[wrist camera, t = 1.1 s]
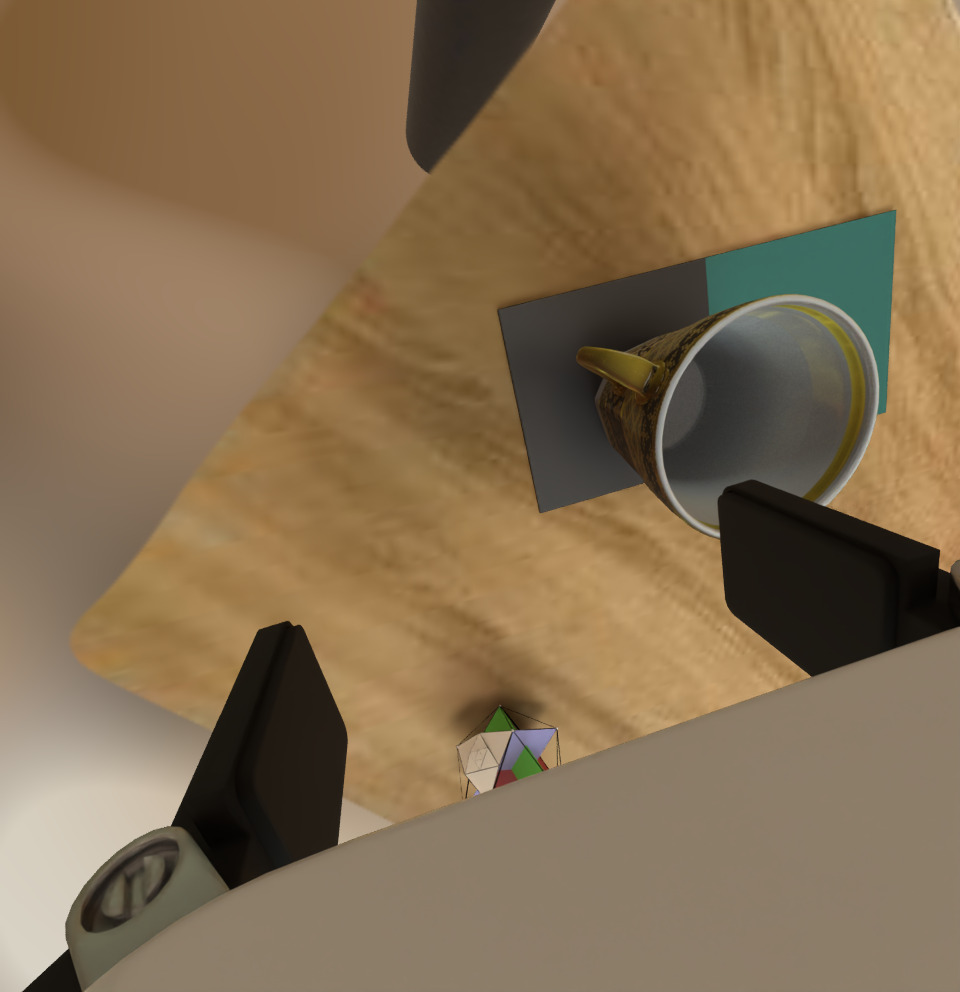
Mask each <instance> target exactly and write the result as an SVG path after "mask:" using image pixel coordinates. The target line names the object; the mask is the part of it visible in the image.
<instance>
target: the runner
mask: <svg viewBox="0 0 960 992" xmlns="http://www.w3.org/2000/svg"><path fill="white" fill-rule="evenodd" d="M895 224H896V210H893V211H889V212H885V213H881V214H877V215H873V216H869V217H865V218H861V219H857V220H853V221H849V222H845V223H841V224H837V225H834V226H830V227H826V228H822V229H818V230H814V231H810V232H806V233H802V234H798V235H794V236H790V237H786V238H782V239H778V240H774V241H770V242H766V243H762V244H758V245H754V246H750V247H746V248H742V249H738V250H734V251H730V252H726V253H722V254H718V255H714V256H710V257H706V258H702V259H698V260H694V261H690V262H686V263H682V264H678V265H674V266H670V267H666V268H662V269H658V270H654V271H650V272H646V273H642V274H638V275H634V276H630V277H626V278H622V279H618V280H614V281H610V282H606V283H602V284H598V285H594V286H590V287H586V288H582V289H578V290H574V291H570V292H566V293H562V294H558V295H554V296H550V297H546V298H542V299H538V300H534V301H530V302H526V303H522V304H518V305H514V306H510V307H506V308H502V309H498V315H499V319H500V324H501V329H502V334H503V339H504V343H505V348H506V353H507V358H508V363H509V367H510V372H511V377H512V382H513V387H514V391H515V396H516V401H517V406H518V411H519V415H520V420H521V425H522V430H523V435H524V439H525V444H526V449H527V454H528V459H529V463H530V468H531V473H532V478H533V483H534V487H535V492H536V497H537V502H538V507H539V511H540V513H543V512H547V511H550V510H554V509H557V508H560V507H564V506H567V505H571V504H574V503H577V502H581V501H584V500H588V499H591V498H595V497H598V496H601V495H605V494H608V493H612V492H615V491H618V490H622V489H625V488H629V487H632V486H636V485H639V484H642V483H645V482H644V481H643V479H642V478H641V476H640V475H639V474H638V473H637V472H636V471H635V470H633V468H632V467H631V466H630V465H629V464H628V463H627V462H626V461H625V460H624V458H623V457H622V456H621V455H620V454H619V453H618V452H617V451H616V450H615V449H614V448H613V447H612V446H611V444H610V443H609V442H608V439H607V437H606V434H605V431H604V428H603V425H602V422H601V420H600V417H599V414H598V411H597V408H596V405H595V396H596V394H597V392H598V389H599V387H600V385H601V382H602V380H603V378H602V377H601V376H599V375H598V374H596V373H594V372H592V371H590V370H588V369H587V368H585V367H583V366H581V365H580V364H578V362H577V360H576V357H577V353H578V351H579V350H580V349H581V348H582V347H585V346H587V347H597V348H605V349H611V350H616V351H620V352H626V351H628V350H630V349H632V348H634V347H636V346H638V345H640V344H642V343H645V342H647V341H649V340H651V339H653V338H655V337H658V336H661V335H663V334H667V333H670V332H674V331H676V330H679V329H682V328H685V327H688V326H690V325H692V324H693V323H695V322H697V321H699V320H701V319H704V318H706V317H708V316H710V315H713V314H715V313H718V312H721V311H723V310H726V309H728V308H731V307H734V306H737V305H740V304H743V303H746V302H750V301H754V300H757V299H761V298H765V297H769V296H775V295H783V294H799V295H806V296H811V297H815V298H818V299H822V300H824V301H827V302H829V303H831V304H833V305H835V306H836V307H838V308H840V309H841V310H842V311H843V312H845V313H846V314H847V315H848V316H849V317H851V318H852V319H853V320H854V321H855V322H856V324H857V325H858V326H859V327H860V329H861V330H862V332H863V333H864V335H865V336H866V338H867V340H868V342H869V344H870V346H871V349H872V351H873V355H874V358H875V361H876V365H877V371H878V379H879V403H878V410H877V415H878V414H881V413H885V412H886V401H887V382H888V362H889V342H890V323H891V303H892V283H893V263H894V244H895Z"/></svg>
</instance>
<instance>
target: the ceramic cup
mask: <svg viewBox="0 0 960 992" xmlns="http://www.w3.org/2000/svg"><path fill="white" fill-rule="evenodd" d="M576 360H577V362H578V364H580V365H581V366H583V367H585V368H587V369H588V370H590V371H592V372H594V373H596V374H598V375H599V376H601V377H602V378H603V380H602V382H601V385H600V387H599V389H598V392H597V394H596V396H595V405H596V408H597V411H598V414H599V417H600V420H601V422H602V425H603V428H604V431H605V434H606V437H607V439H608V442H609V443H610V444H611V446H612V447H613V448H614V449H615V450H616V451H617V452H618V453H619V454H620V455H621V456H622V457H623V458H624V460H625V461H626V462H627V463H628V464H629V465H630V466H631V467H632V468H633V470H635V471H636V472H637V473H638V474H639V475H640V476H641V478H642V479H643V481H644V482H645V484H646V485H647V486H648V487H649V489H650V490H651V491H652V492H653V493H654V494H655V495H656V496H657V497H658V498H659V499H660V500H661V501H662V502H663V503H664V504H665V505H666V506H667V507H668V508H669V509H670V510H671V511H672V512H673V513H675V514H676V515H677V516H678V517H679V518H681V519H682V520H683V521H684V522H685V523H687V524H688V525H689V526H691V527H692V528H693V529H695V530H697V531H699V532H700V533H703V534H705V535H707V536H710V537H713V538H716V539H719V540H720V530H719V517H718V505H717V501H718V497H719V496H720V495H722V493H723V490H724V489H725V488H726V487H727V486H731V485H734V484H737V483H741V482H744V481H747V480H750V479H753V480H757V481H759V482H762V483H765V484H767V485H770V486H773V487H775V488H778V489H781V490H783V491H786V492H788V493H791V494H794V495H796V496H799V497H802V498H804V499H807V500H810V501H812V502H815V503H817V504H820V505H823V506H826V505H828V504H829V503H830V502H831V501H832V500H833V499H834V498H835V496H836V495H837V494H838V493H839V492H840V491H841V490H842V489H843V487H844V486H845V485H846V483H847V482H848V481H849V479H850V478H851V477H852V475H853V473H854V472H855V470H856V468H857V467H858V465H859V463H860V461H861V459H862V457H863V455H864V453H865V451H866V449H867V446H868V444H869V441H870V439H871V435H872V432H873V429H874V426H875V421H876V416H877V410H878V403H879V379H878V371H877V365H876V361H875V358H874V355H873V351H872V349H871V346H870V344H869V342H868V340H867V338H866V336H865V335H864V333H863V332H862V330H861V329H860V327H859V326H858V325H857V324H856V322H855V321H854V320H853V319H852V318H851V317H849V316H848V315H847V314H846V313H845V312H843V311H842V310H841V309H840V308H838V307H836V306H835V305H833V304H831V303H829V302H827V301H824V300H822V299H818V298H815V297H811V296H806V295H799V294H783V295H775V296H769V297H765V298H761V299H757V300H754V301H750V302H746V303H743V304H740V305H737V306H734V307H731V308H728V309H726V310H723V311H721V312H718V313H715V314H713V315H710V316H708V317H706V318H704V319H701V320H699V321H697V322H695V323H693V324H692V325H690V326H688V327H685V328H682V329H679V330H676V331H674V332H670V333H667V334H663V335H661V336H658V337H655V338H653V339H651V340H649V341H647V342H645V343H642V344H640V345H638V346H636V347H634V348H632V349H630V350H628V351H626V352H620V351H616V350H611V349H605V348H597V347H587V346H585V347H582V348H581V349H580V350H579V351H578V353H577V357H576Z"/></svg>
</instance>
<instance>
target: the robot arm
mask: <svg viewBox="0 0 960 992" xmlns="http://www.w3.org/2000/svg"><path fill="white" fill-rule="evenodd" d="M717 505H718V517H719V530H720V542H721V554H722V566H723V578H724V591H725V600H726V603H727V606H728V608H729V610H730V611H731V612H732V613H733V614H734V615H735V616H736V617H737V618H738V619H740V620H741V621H742V622H743V623H745V624H746V625H747V626H748V627H750V628H751V629H752V630H754V631H755V632H756V633H757V634H759V635H760V636H761V637H762V638H764V639H765V640H766V641H767V642H769V643H770V644H771V645H772V646H774V647H775V648H776V649H777V650H779V651H780V652H781V653H783V654H784V655H785V656H786V657H788V658H789V659H790V660H791V661H793V662H794V663H795V664H796V665H798V666H799V667H800V668H801V669H803V670H804V671H805V672H807V673H808V674H809V675H810V676H812V677H811V678H808V679H805V680H802V681H799V682H796V683H793V684H791V685H788V686H785V687H782V688H779V689H776V690H774V691H771V692H768V693H765V694H762V695H759V696H756V697H754V698H751V699H748V700H745V701H742V702H739V703H737V704H734V705H731V706H728V707H725V708H722V709H719V710H717V711H714V712H711V713H708V714H705V715H702V716H700V717H697V718H694V719H691V720H688V721H685V722H682V723H680V724H677V725H674V726H671V727H668V728H665V729H663V730H660V731H657V732H654V733H651V734H648V735H645V736H643V737H640V738H637V739H634V740H631V741H628V742H625V743H623V744H620V745H617V746H614V747H611V748H608V749H605V750H603V751H600V752H597V753H594V754H591V755H588V756H585V757H583V758H580V759H577V760H574V761H571V762H568V763H565V764H563V765H560V766H557V767H554V768H551V769H548V770H545V771H543V772H540V773H537V774H534V775H531V776H528V777H525V778H523V779H520V780H517V781H514V782H511V783H509V784H506V785H503V786H500V787H497V788H495V789H492V790H489V791H486V792H483V793H481V794H478V795H475V796H472V797H469V798H467V799H464V800H461V801H458V802H455V803H453V804H450V805H447V806H444V807H441V808H439V809H436V810H433V811H430V812H427V813H425V814H422V815H419V816H416V817H413V818H411V819H408V820H405V821H402V822H399V823H397V824H394V825H391V826H388V827H386V828H383V829H380V830H377V831H374V832H372V833H369V834H366V835H363V836H360V837H357V838H355V839H352V840H349V841H347V842H344V843H342V844H339V845H338V837H339V827H340V816H341V806H342V796H343V786H344V775H345V765H346V755H347V744H348V739H347V731H346V727H345V724H344V722H343V719H342V717H341V715H340V712H339V710H338V708H337V705H336V703H335V701H334V698H333V696H332V694H331V691H330V689H329V687H328V684H327V682H326V680H325V677H324V675H323V673H322V671H321V668H320V666H319V664H318V661H317V659H316V657H315V654H314V652H313V650H312V647H311V645H310V643H309V640H308V638H307V636H306V633H305V631H304V629H303V627H302V626H301V625H296V626H293V625H292V624H291V623H290V622H289V621H286V622H282V623H279V624H276V625H272V626H269V627H266V628H263V629H259V630H258V632H257V634H256V636H255V638H254V641H253V643H252V645H251V647H250V650H249V652H248V654H247V656H246V659H245V661H244V663H243V665H242V668H241V670H240V672H239V674H238V677H237V679H236V681H235V683H234V686H233V688H232V690H231V692H230V695H229V697H228V699H227V701H226V704H225V706H224V708H223V710H222V713H221V715H220V717H219V719H218V721H217V723H216V726H215V728H214V730H213V732H212V735H211V737H210V739H209V741H208V744H207V746H206V748H205V751H204V753H203V755H202V758H201V759H200V762H199V764H198V766H197V768H196V771H195V773H194V775H193V778H192V780H191V782H190V784H189V786H188V789H187V791H186V793H185V796H184V798H183V800H182V802H181V805H180V807H179V809H178V811H177V814H176V816H175V818H174V820H173V822H172V825H171V826H167V827H164V828H160V829H156V830H153V831H151V832H149V833H147V834H145V835H143V836H141V837H139V838H137V839H135V840H133V841H132V842H131V843H129V844H128V845H126V846H125V847H123V848H122V849H120V850H119V851H118V852H116V853H115V854H114V855H113V856H112V857H111V858H110V859H109V860H108V861H107V862H105V863H104V864H103V865H102V866H101V867H100V868H99V869H98V870H97V871H96V873H95V874H94V875H93V876H92V877H91V879H90V880H89V881H88V882H87V883H86V884H85V885H84V887H83V888H82V890H81V892H80V893H79V895H78V896H77V898H76V900H75V901H74V903H73V905H72V907H71V909H70V912H69V915H68V918H67V921H66V924H65V925H66V926H65V927H66V941H67V944H68V947H69V949H68V950H67V951H66V952H64V953H63V954H62V955H61V956H60V957H59V958H58V959H57V960H56V961H55V962H54V963H53V964H51V966H49V967H48V968H47V969H46V970H45V971H44V972H43V973H42V974H41V975H40V976H39V977H37V979H35V980H34V981H33V982H32V983H31V984H30V985H29V986H28V987H27V988H26V989H25V990H24V991H23V992H960V560H957V561H956V562H955V563H954V564H953V565H952V566H951V572H950V573H949V572H946V571H944V570H941V569H939V557H940V550H939V549H936V548H933V547H931V546H928V545H925V544H923V543H920V542H918V541H915V540H912V539H910V538H907V537H904V536H902V535H899V534H896V533H894V532H891V531H889V530H886V529H883V528H881V527H878V526H875V525H873V524H870V523H867V522H865V521H862V520H860V519H857V518H854V517H852V516H849V515H846V514H844V513H841V512H839V511H836V510H833V509H831V508H828V507H825V506H823V505H820V504H817V503H815V502H812V501H810V500H807V499H804V498H802V497H799V496H796V495H794V494H791V493H788V492H786V491H783V490H781V489H778V488H775V487H773V486H770V485H767V484H765V483H762V482H759V481H757V480H753V479H750V480H747V481H744V482H741V483H737V484H734V485H731V486H727V487H726V488H725V489H724V490H723V493H722V495H720V496H719V497H718V501H717Z"/></svg>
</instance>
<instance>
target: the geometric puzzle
mask: <svg viewBox="0 0 960 992" xmlns="http://www.w3.org/2000/svg"><path fill="white" fill-rule="evenodd" d="M503 708H504V707H503ZM503 708H502V706H501V705H499V707H498V709H497V711H496V712H495V714H494V716H493V717H492V719H491V721H490V722H489V724H488V726H487V728H486V729H485V731H484V732H482V733H478V734H476V735H475V736H473V737H471V738H470V739H468V740H466V741H465V742H463V743H461V744H460V745H456V748H458V749H457V751H458V752H459V755H460V759H461V763H462V766H463V770H464V774H465V776H466V777H467V778H468V784H469V781H470V782H471V783H472V784H473V785H474V787H475V788H476V789H477V791H476V792H475V794H474V796H475V795H478V794H481V793H483V792H486V791H489V790H492V789H495V788H497V787H500V786H503V785H506V784H509V783H511V782H514V781H517V780H520V779H523V778H525V777H528V776H531V775H534V774H537V773H540V772H543V771H545V770H548V769H549V768H548V767H547V766H546V764H545V763H544V761H543V760H542V758H541V757H540V755H541V753H542V752H543V750H544V749H545V747H546V745H547V744H548V742H549V740H550V739H551V737H552V736H553V734H554V732H555V731H556V730H557V729H558V727H556V728H555V727H554V728H544V729H523V730H520V729H519V728H518V727H517V725H516V724H515V723H514V722H513V721H512V719H511V718H510V717H509V716H508V714H507V713H506V712H505V711H504V710H503ZM506 709H507V708H506ZM508 710H510V709H508ZM511 711H512V710H511ZM493 712H494V711H493ZM493 712H492V713H493ZM514 712H515V711H514ZM492 713H491V714H492ZM516 713H517V712H516ZM491 714H490V715H491ZM519 714H520V713H519ZM490 715H489V716H490ZM506 715H507V716H506ZM521 715H522V714H521ZM489 716H488V717H489ZM524 716H525V715H524ZM488 717H487V718H488ZM526 717H527V716H526ZM487 718H486V719H487ZM508 718H509V719H510V720H511V721H512V723H513V724H514V725H515V726H516V727H517V729H518V730H516V729H515V727H514V726H513V724H512V723H511V721H510V720H509V719H508ZM529 718H530V717H529ZM486 719H485V720H486ZM531 719H532V718H531ZM534 720H535V719H534ZM536 721H538V720H536ZM539 722H540V721H539ZM542 723H543V722H542ZM544 724H545V723H544ZM547 725H548V724H547ZM549 726H550V725H549ZM552 727H553V726H552ZM473 731H474V730H473ZM473 731H472V732H473ZM472 732H471V733H472ZM471 733H470V734H471ZM470 734H469V735H470ZM469 735H468V736H469ZM468 736H467V737H468ZM467 737H466V738H467ZM557 737H558V731H557ZM466 738H465V739H466ZM558 746H559V741H558ZM559 755H560V750H559ZM458 761H459V759H458ZM560 764H561V759H560ZM557 766H558V750H557ZM459 771H460V769H459ZM460 781H461V779H460ZM468 784H467V791H468ZM461 791H462V788H461ZM467 791H466V798H467ZM466 798H465V799H466ZM462 800H463V798H462Z"/></svg>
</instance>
